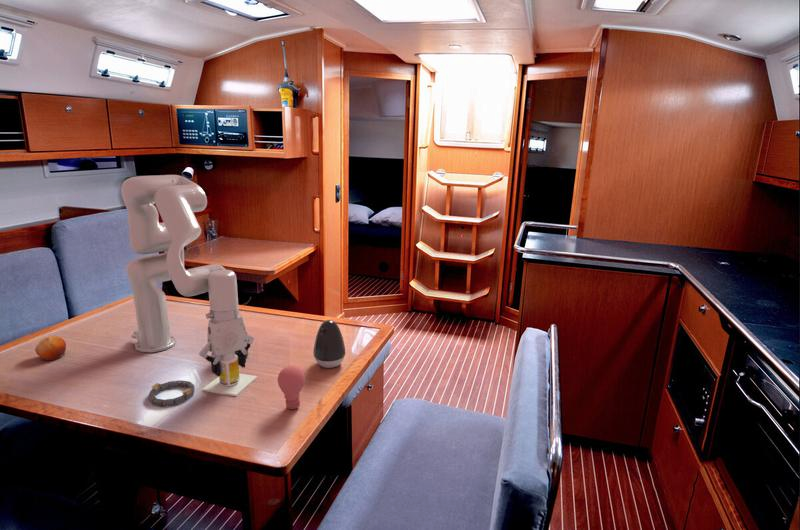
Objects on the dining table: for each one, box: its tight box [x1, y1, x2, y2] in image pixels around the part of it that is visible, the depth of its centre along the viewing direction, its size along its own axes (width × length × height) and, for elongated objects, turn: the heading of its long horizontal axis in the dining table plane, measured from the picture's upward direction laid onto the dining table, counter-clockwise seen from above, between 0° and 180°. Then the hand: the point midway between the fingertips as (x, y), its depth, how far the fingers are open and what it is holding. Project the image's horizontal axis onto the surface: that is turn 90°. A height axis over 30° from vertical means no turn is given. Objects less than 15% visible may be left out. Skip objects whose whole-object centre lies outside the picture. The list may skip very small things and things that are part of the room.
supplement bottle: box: [218, 352, 240, 386], centre depth 137 cm, size 6×6×10 cm
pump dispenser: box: [313, 319, 346, 369], centre depth 150 cm, size 10×10×15 cm
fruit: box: [34, 335, 67, 361], centre depth 152 cm, size 8×8×8 cm
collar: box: [147, 379, 196, 408], centre depth 131 cm, size 11×11×2 cm
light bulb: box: [277, 365, 306, 410], centre depth 126 cm, size 7×7×12 cm
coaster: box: [202, 372, 258, 397], centre depth 138 cm, size 11×11×1 cm
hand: (229, 369), depth 137 cm, fingers open, 7 cm apart
